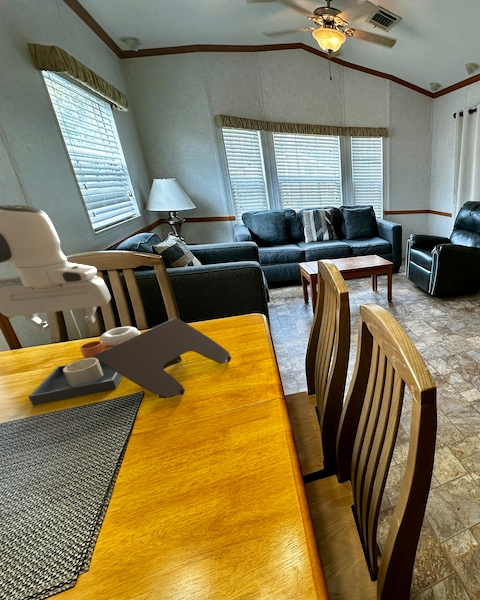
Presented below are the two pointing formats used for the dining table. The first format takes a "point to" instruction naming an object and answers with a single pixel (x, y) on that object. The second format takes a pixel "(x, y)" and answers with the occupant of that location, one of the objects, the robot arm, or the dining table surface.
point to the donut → (118, 335)
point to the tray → (60, 389)
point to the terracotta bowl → (91, 349)
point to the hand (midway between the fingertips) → (67, 325)
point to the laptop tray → (160, 356)
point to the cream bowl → (83, 372)
